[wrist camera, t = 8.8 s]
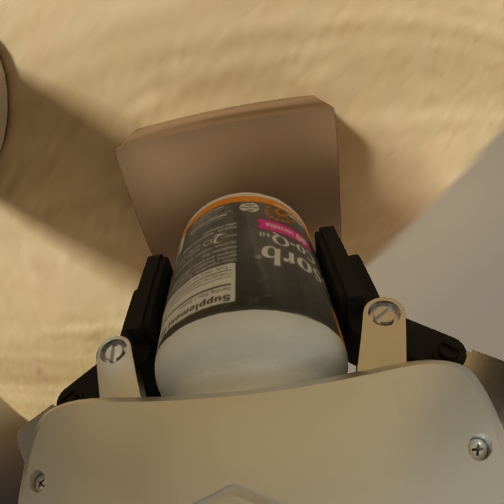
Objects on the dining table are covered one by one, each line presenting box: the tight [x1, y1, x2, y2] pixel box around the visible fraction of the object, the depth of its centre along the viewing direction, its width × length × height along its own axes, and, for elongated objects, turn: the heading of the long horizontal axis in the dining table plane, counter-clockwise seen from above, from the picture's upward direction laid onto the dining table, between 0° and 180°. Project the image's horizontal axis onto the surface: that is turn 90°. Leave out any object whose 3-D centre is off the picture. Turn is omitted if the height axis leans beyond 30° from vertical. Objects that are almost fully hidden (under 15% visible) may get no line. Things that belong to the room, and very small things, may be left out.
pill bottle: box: [155, 192, 348, 396], centre depth 10 cm, size 6×6×10 cm
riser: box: [115, 95, 341, 271], centre depth 18 cm, size 10×10×4 cm
